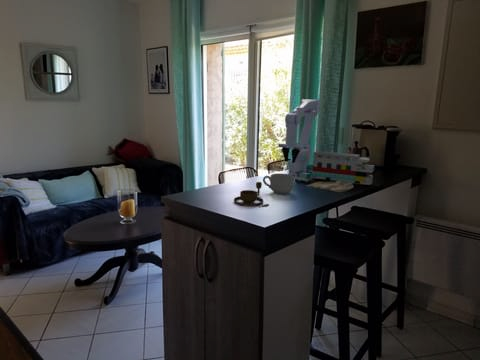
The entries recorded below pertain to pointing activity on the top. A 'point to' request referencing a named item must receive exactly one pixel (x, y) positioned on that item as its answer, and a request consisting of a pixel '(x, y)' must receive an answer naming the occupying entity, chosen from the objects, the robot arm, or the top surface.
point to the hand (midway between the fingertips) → (289, 162)
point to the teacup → (280, 183)
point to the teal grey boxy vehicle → (303, 177)
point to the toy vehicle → (341, 168)
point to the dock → (333, 186)
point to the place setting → (250, 197)
